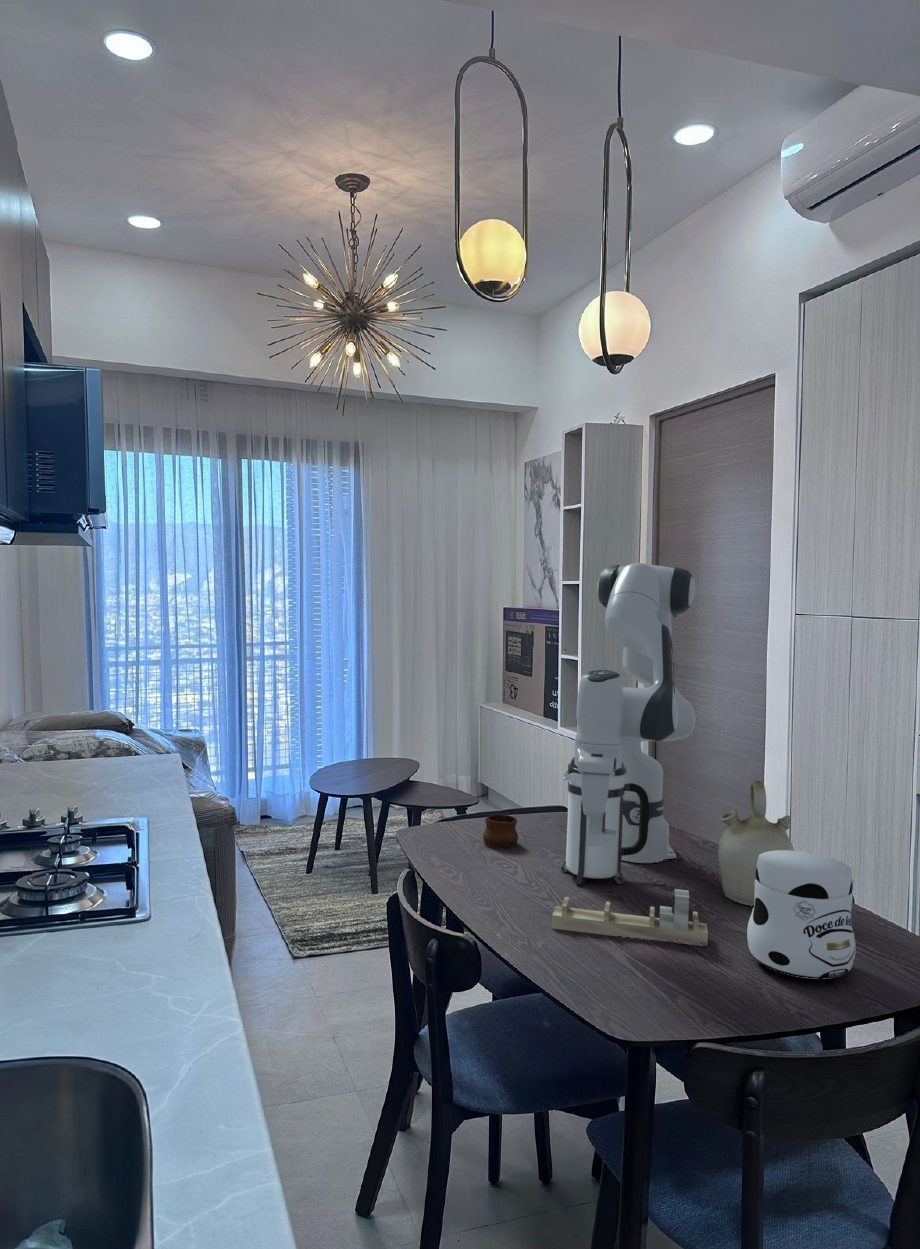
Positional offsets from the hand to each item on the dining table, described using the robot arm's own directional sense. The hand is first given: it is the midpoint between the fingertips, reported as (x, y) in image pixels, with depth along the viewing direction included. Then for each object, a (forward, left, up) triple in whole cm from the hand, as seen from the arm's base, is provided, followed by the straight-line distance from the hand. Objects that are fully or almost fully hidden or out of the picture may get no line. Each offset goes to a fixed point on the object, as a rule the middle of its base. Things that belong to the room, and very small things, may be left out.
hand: (595, 830), depth 164 cm
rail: (+1, +7, -18) cm, 20 cm away
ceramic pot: (-48, -26, -19) cm, 57 cm away
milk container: (+7, +36, -19) cm, 41 cm away
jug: (-27, +32, -19) cm, 46 cm away
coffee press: (-30, -1, -19) cm, 35 cm away
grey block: (0, +1, -3) cm, 3 cm away
